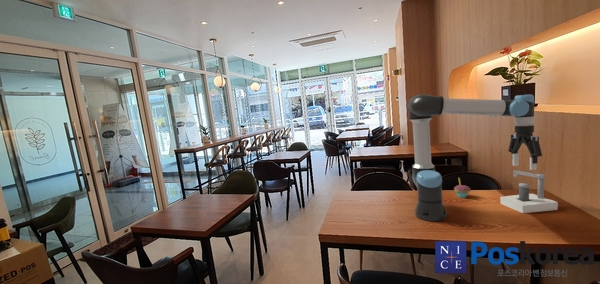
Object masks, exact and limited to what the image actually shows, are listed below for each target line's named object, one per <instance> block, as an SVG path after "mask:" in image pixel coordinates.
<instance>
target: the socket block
mask: <svg viewBox="0 0 600 284" xmlns="http://www.w3.org/2000/svg"><path fill="white" fill-rule="evenodd" d="M544 193H545V179H539V178H537V194H535V193H529V201H526V202H523V201H520V200H519V194H516V195H514V194H513V195H506V196H499V197H500V203H499V204H501V205H502V206H505V207H507V208H510V209H512V210H515V211H517V212H519V213H521V214H528V213H538V212H540V213H541V212H548V211H557V210H558V207H559V203H558V201H555V200H553V199H549V198H547V197H545V196H544Z"/></svg>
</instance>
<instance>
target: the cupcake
mask: <svg viewBox="0 0 600 284" xmlns="http://www.w3.org/2000/svg"><path fill="white" fill-rule="evenodd" d="M458 183H459V184H458V185H456V186H454V187H453V189H454V192H455V193H456V195H457V197H459V198H464V199H465V198H467V197H468V194H469V193H470V192H471V187H470V186H467V185H465V184H461V178H460V177H458Z"/></svg>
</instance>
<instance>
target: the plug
mask: <svg viewBox="0 0 600 284" xmlns="http://www.w3.org/2000/svg"><path fill="white" fill-rule="evenodd" d="M529 194H530V183H524V182H520V183H518V195H519V200H520V201H523V202H526V201H529Z"/></svg>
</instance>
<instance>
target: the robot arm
mask: <svg viewBox="0 0 600 284" xmlns="http://www.w3.org/2000/svg"><path fill="white" fill-rule="evenodd" d="M407 111H408V116H409V117H408V118H409V119H408V120H409V122H412V136H413V137H412V139H413V150H414V151H413V152H414V153H413V154H414V164H412V173H411V180H412V182H413V183H414V185H415V186H416V188H417V203H416V206H415V209H414V215H415V216H416V218H417V219H420V220H423V221H427V222H429V221H430V222H440V221H444V220H446V219H447V218H448V217H447V213H448V212H447V210H446V208H445V206H444V203H443V177H442V174H441V173H440V172H438V171H436V169H435V166H436V165H434V164H433V163H432V149H431V132H430V131H431V130H430V121H431V120H432V119H433V116H442V115H446V114H448V115H449V114H450V115H470V116H471V115H472V116H473V115H475V116H490V117H497V116H502V117H514V125H515V126H514V133H515V134H511V135H510V141H509V146H508V149H507V150H508V152H509V153H511V159H512V166H514V167H517V166H519V165H520V163H519V158H520V156H519V155H520V154H519V150H520V148H521V146H522V144H524V145H525V146H526V147H527V150H528V152H529V154H530V155H531V156H530V157H529V170H530V171H533V170H534V171H536V170H537V164H538V161H539V159H538V158H539V157H542V156H543V154H542V149H541V146H540V137H539V136H535V135H533V133H534V132H535V125H534V124H535V96H534V95H533V94H522V95H521V94H520V95H515V96H514V99H482V98H481V99H480V98H479V99H478V98H475V99H474V98H445V96H443V95H432V94H423V93H422V94H417V95H414V96H412V97H411V98H410V100H408V103H407Z"/></svg>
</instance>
